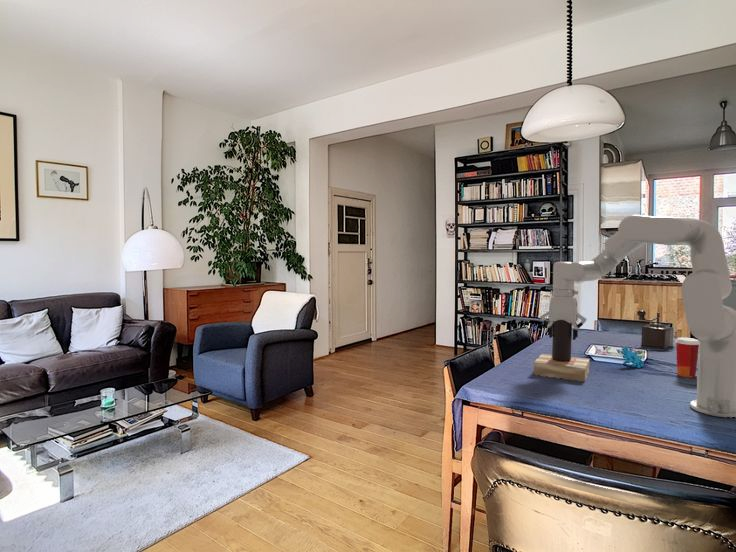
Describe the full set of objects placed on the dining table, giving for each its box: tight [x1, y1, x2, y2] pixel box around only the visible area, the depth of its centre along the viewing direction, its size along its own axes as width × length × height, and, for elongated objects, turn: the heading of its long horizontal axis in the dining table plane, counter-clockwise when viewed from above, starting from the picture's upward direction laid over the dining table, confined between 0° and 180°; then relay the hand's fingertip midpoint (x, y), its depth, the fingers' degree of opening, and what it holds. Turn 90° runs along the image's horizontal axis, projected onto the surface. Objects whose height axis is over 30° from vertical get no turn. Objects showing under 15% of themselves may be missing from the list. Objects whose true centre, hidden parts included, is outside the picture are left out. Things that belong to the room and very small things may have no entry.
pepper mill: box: [636, 309, 674, 349], centre depth 221 cm, size 16×11×18 cm
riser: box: [533, 353, 591, 383], centre depth 176 cm, size 16×18×5 cm
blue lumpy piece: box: [620, 346, 645, 369], centre depth 186 cm, size 11×6×10 cm
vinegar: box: [551, 320, 573, 361], centre depth 175 cm, size 7×7×20 cm
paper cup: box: [674, 337, 700, 378], centre depth 171 cm, size 8×8×14 cm
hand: (562, 337), depth 175 cm, fingers open, 8 cm apart
